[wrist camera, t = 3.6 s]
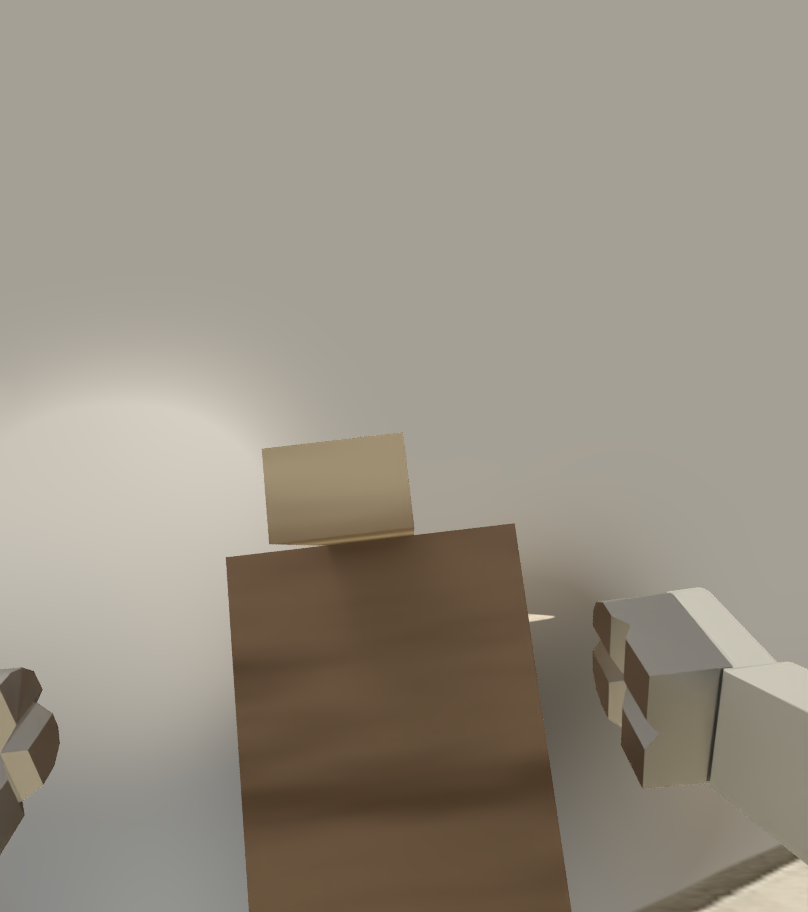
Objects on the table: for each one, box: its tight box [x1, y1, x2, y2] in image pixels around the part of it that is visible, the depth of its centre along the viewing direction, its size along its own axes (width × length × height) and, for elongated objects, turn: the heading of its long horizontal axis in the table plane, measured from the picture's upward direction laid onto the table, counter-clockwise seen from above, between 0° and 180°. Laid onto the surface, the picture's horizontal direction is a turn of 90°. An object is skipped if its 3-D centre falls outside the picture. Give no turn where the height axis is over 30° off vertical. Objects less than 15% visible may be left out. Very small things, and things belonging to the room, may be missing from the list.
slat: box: [262, 432, 414, 546], centre depth 21 cm, size 19×3×2 cm, turn 179°
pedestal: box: [226, 524, 571, 912], centre depth 21 cm, size 8×10×27 cm
